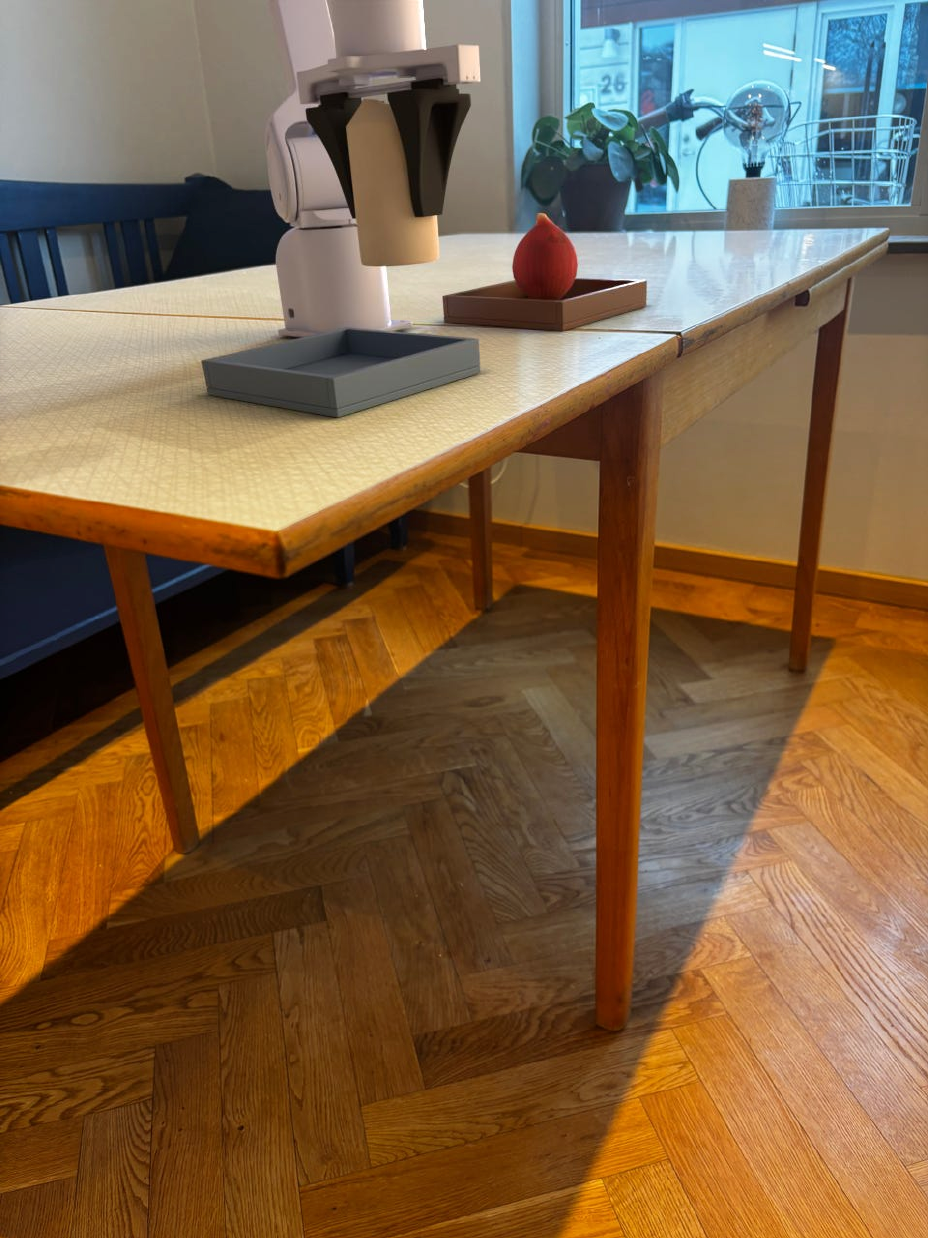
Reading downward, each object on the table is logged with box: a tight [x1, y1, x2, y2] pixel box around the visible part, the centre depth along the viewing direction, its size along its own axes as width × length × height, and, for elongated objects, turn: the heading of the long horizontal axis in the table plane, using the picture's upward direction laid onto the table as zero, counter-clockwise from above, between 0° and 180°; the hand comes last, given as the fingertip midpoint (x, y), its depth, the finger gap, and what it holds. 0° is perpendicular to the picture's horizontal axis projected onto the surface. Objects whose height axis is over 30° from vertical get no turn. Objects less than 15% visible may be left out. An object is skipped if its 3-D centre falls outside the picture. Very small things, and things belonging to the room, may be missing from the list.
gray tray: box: [201, 327, 482, 418], centre depth 62 cm, size 13×13×2 cm
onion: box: [511, 212, 579, 301], centre depth 81 cm, size 6×6×8 cm
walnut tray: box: [441, 277, 648, 332], centre depth 83 cm, size 13×13×2 cm
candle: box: [346, 98, 440, 267], centre depth 61 cm, size 6×6×10 cm
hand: (395, 216), depth 62 cm, fingers closed on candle, 5 cm apart
